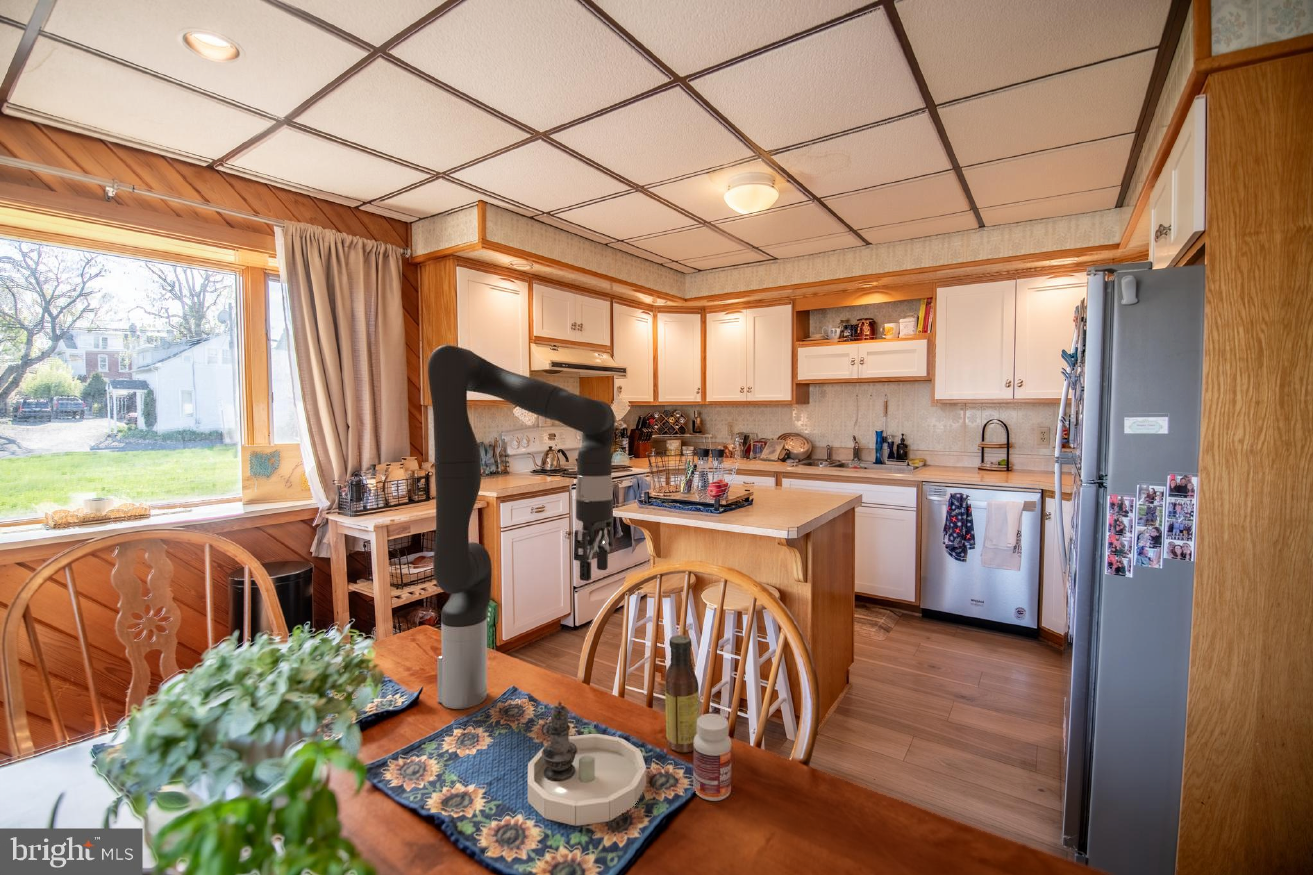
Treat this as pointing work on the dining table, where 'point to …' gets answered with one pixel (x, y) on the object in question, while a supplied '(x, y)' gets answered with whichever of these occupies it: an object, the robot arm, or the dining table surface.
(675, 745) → the sauce bottle
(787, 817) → the dining table surface
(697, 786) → the pill bottle
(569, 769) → the dark stone tower
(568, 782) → the tray
